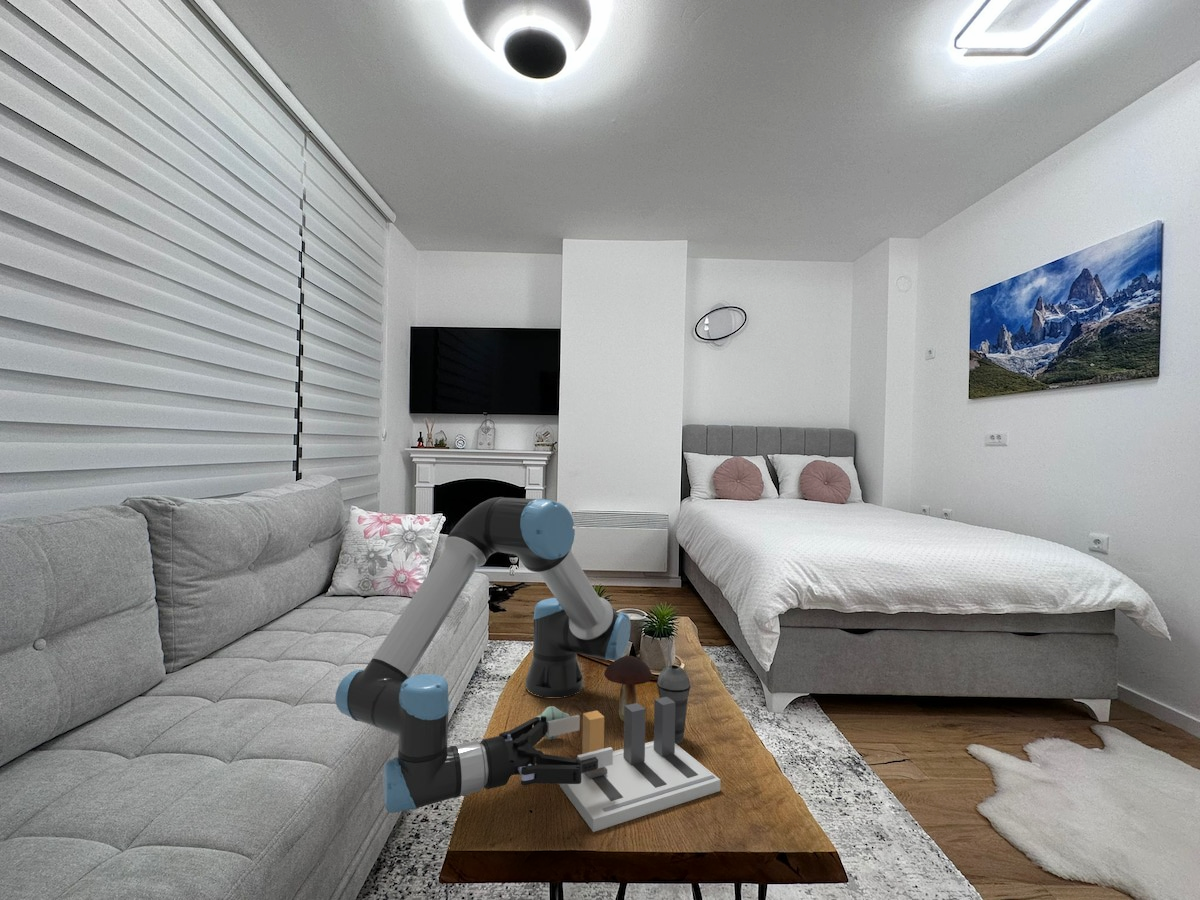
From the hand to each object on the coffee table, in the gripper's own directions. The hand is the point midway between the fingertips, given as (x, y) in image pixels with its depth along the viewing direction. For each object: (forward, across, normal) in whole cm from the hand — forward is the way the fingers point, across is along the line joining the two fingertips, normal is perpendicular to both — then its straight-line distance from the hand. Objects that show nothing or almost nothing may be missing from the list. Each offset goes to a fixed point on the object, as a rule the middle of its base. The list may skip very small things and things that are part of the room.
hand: (594, 738), depth 101 cm
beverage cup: (+23, -7, -8) cm, 25 cm away
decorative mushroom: (+18, -18, -8) cm, 27 cm away
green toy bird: (-1, -18, -8) cm, 20 cm away
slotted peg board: (+7, +4, -8) cm, 11 cm away
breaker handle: (0, 0, -6) cm, 6 cm away
